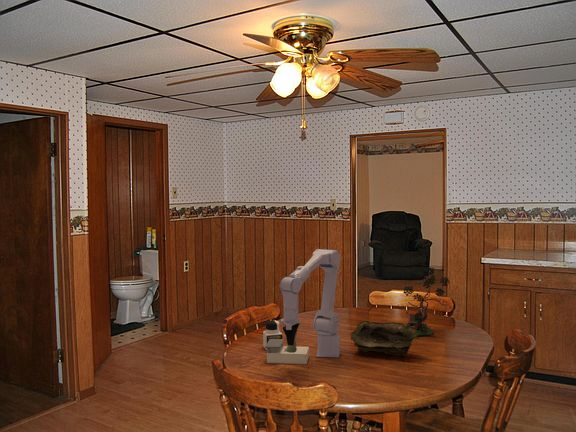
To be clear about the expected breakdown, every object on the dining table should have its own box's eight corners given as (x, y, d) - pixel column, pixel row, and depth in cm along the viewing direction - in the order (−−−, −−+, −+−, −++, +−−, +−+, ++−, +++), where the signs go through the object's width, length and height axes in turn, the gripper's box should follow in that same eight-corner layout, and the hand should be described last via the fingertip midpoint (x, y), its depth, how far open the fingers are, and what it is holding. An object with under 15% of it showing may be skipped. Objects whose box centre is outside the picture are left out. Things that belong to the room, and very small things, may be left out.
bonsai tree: (450, 342, 228) (449, 272, 227) (394, 338, 236) (394, 270, 235) (450, 323, 261) (450, 262, 260) (402, 320, 269) (401, 261, 268)
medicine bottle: (266, 351, 219) (266, 323, 219) (263, 346, 226) (262, 319, 226) (282, 349, 221) (282, 322, 221) (278, 345, 228) (278, 318, 228)
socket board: (309, 355, 212) (309, 339, 212) (306, 364, 201) (306, 347, 201) (270, 354, 214) (269, 338, 214) (265, 363, 203) (265, 346, 203)
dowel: (296, 350, 197) (296, 329, 197) (295, 352, 193) (295, 331, 193) (287, 349, 197) (287, 329, 197) (286, 352, 194) (286, 331, 194)
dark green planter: (418, 370, 206) (426, 337, 215) (411, 354, 198) (420, 321, 206) (354, 357, 221) (364, 327, 229) (345, 342, 213) (356, 312, 221)
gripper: (283, 304, 203) (284, 338, 203) (277, 312, 188) (278, 349, 189) (301, 304, 202) (301, 338, 202) (296, 312, 187) (297, 349, 188)
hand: (291, 343), depth 195 cm, fingers closed on dowel, 3 cm apart
